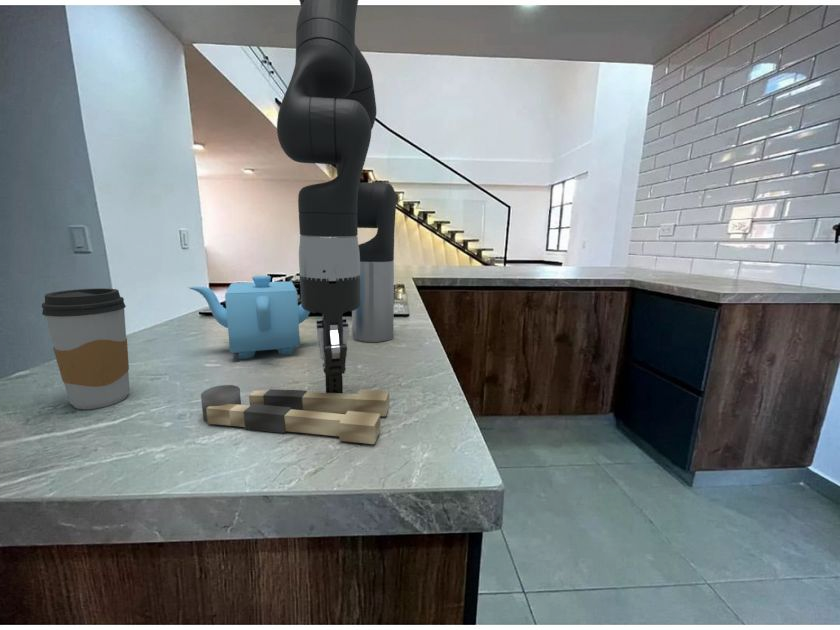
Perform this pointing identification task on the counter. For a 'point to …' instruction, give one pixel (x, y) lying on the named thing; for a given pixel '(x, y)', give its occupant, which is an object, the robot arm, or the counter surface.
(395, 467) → the counter surface
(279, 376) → the counter surface
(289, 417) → the tongs frame
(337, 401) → the tong arm
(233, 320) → the teakettle
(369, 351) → the counter surface
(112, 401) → the coffee cup
